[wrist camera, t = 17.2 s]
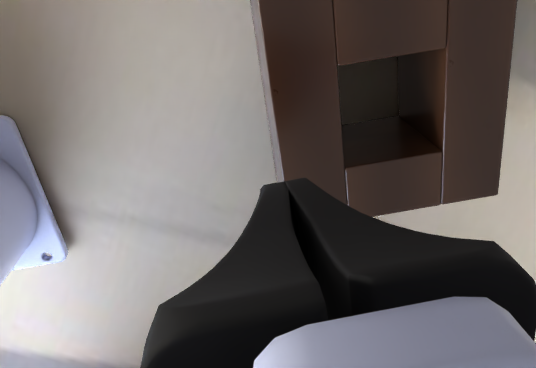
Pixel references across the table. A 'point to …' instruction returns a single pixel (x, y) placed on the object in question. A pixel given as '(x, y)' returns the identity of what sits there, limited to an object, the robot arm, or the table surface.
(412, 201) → the stand
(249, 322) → the robot arm
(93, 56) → the table surface
